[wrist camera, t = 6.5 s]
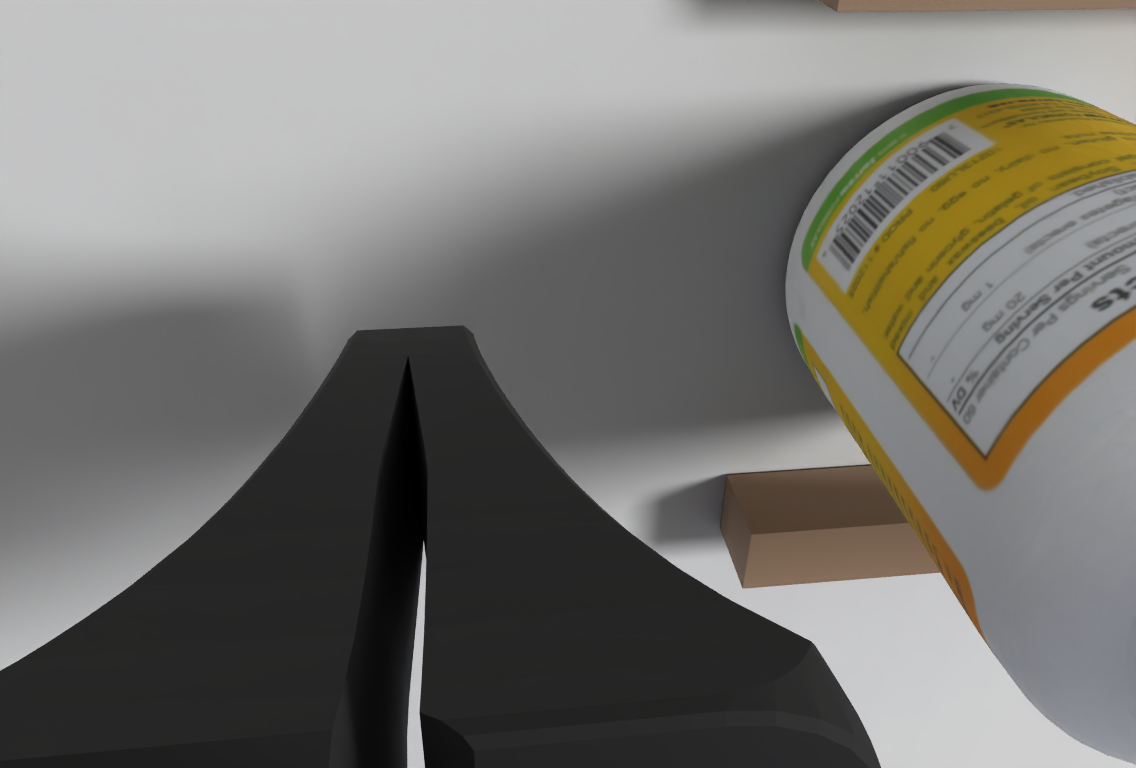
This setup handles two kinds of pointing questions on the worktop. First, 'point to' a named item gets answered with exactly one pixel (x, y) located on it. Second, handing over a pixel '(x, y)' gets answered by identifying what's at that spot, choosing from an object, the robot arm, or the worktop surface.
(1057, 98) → the supplement bottle
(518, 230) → the worktop surface
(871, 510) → the walnut stop
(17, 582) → the worktop surface
